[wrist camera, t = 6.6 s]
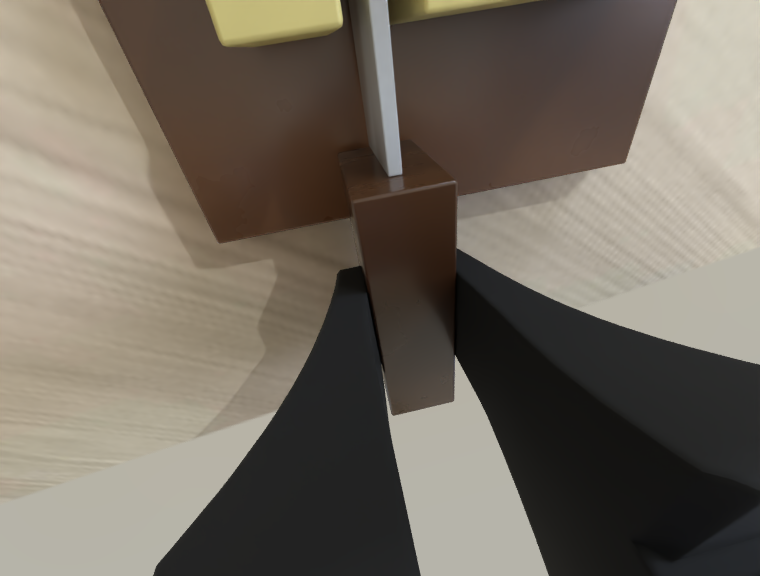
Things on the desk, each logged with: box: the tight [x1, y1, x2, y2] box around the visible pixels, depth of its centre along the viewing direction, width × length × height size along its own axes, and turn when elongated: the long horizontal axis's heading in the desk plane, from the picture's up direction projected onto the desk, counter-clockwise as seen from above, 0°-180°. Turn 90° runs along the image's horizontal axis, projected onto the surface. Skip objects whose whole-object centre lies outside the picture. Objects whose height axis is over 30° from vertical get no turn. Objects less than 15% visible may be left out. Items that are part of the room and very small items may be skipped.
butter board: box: [98, 0, 677, 243], centre depth 8 cm, size 9×13×1 cm
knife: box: [338, 0, 458, 416], centre depth 7 cm, size 15×2×3 cm, turn 9°
